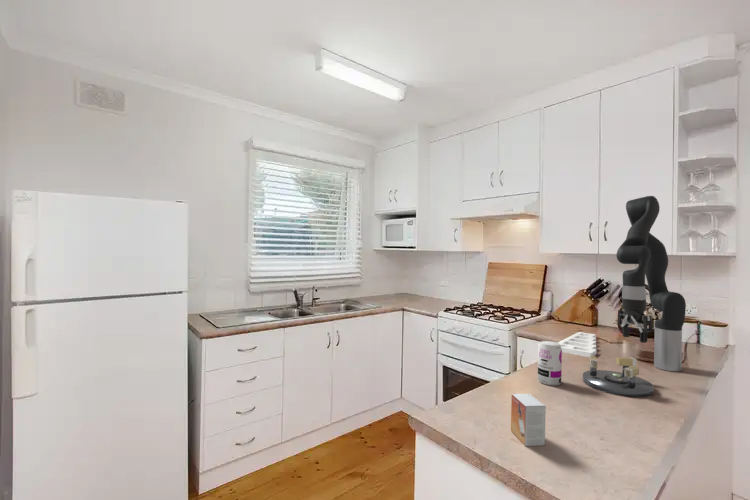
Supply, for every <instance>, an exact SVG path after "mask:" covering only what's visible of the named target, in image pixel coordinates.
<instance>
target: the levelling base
mask: <svg viewBox="0 0 750 500" xmlns="http://www.w3.org/2000/svg"><path fill="white" fill-rule="evenodd" d="M622 373H623V372H620V371H614V370H613V371H612V370H606V369H597V376H591V375H590V370H586V371H584V372H583V373H582V382H583V383H584V384H585V385H586V386H589V387H590V388H593V389H595V390H597V391H601V392H604V393H606V394H611V395H615V396H621V397H629V398H646V397H651V396H652V395H653V394H654V385H653V384H652V383H651V382H650V381H648V380H646V379H644V378H642V377H639V376H636V377H635V388H632V387H629V386H628V377H626V376H624V375H623V374H622Z"/></svg>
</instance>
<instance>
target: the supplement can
mask: <svg viewBox="0 0 750 500" xmlns="http://www.w3.org/2000/svg"><path fill="white" fill-rule="evenodd" d="M562 354H563V352H562V348H561V346H560V344H559V343H558V342H557V341H552V340H551V341H550V340H541V341H539V343H538V345H537V380H538V381H539V383H542V384H544V385H545V386H547V385H548V386H553V387H555V386H560V384H561V383H562V372H563V371H562V369H563V368H562V363H563V362H562V357H563V355H562Z"/></svg>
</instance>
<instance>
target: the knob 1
mask: <svg viewBox="0 0 750 500" xmlns="http://www.w3.org/2000/svg"><path fill="white" fill-rule="evenodd" d="M597 370H598V358H597V356H596V355H595V356H590V357H589V371H590V375H591V376H597Z"/></svg>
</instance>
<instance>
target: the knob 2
mask: <svg viewBox="0 0 750 500" xmlns="http://www.w3.org/2000/svg"><path fill="white" fill-rule="evenodd" d="M639 375H640V367H639V366H637V365H636V366H630V367H628V368H624V376H626V377H628V386H629V387H632V388H635V377H637V376H639Z"/></svg>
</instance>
